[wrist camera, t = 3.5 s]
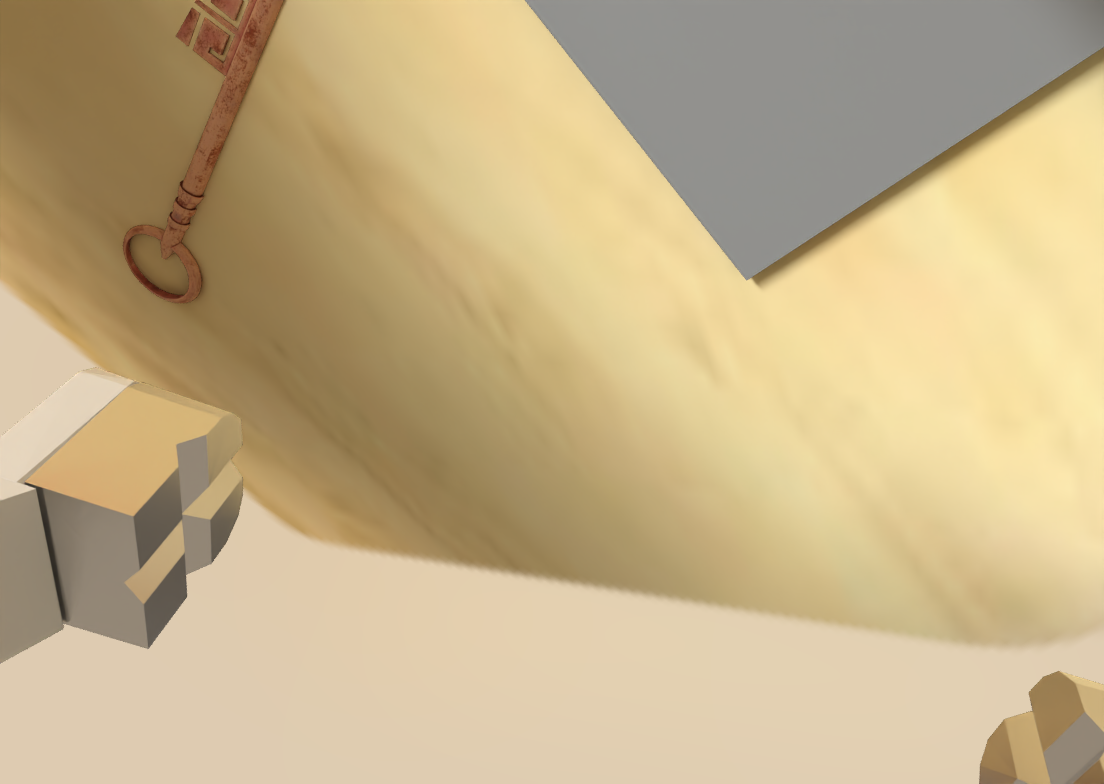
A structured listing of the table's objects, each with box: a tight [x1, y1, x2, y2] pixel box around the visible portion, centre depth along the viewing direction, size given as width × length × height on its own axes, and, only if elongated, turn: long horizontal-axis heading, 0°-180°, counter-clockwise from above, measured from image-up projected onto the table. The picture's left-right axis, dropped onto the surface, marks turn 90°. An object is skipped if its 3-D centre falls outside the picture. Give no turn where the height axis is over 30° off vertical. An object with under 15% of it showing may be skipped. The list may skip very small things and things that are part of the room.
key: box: [123, 0, 284, 303], centre depth 35 cm, size 6×1×15 cm
